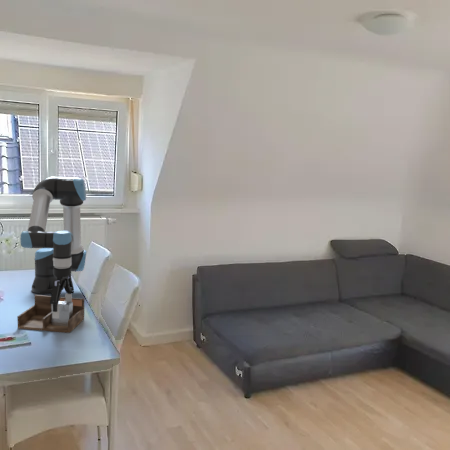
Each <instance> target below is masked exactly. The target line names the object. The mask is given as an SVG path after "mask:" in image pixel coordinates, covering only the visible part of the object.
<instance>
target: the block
mask: <svg viewBox="0 0 450 450" xmlns="http://www.w3.org/2000/svg"><path fill="white" fill-rule="evenodd" d="M58 304H59V319H56V318H52V325H58V326H68V320H69V319H70V318H72V317H73V302H68V301H59V302H58Z"/></svg>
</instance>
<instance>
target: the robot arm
mask: <svg viewBox="0 0 450 450" xmlns="http://www.w3.org/2000/svg"><path fill="white" fill-rule="evenodd" d="M31 196H32V200H33V201H32V203H33V204H32V207H31V212H30V216H29V221H28V226H27V230H23V231H21V233H20V246H21V247H22V248H24V249H37V250H36V251H35V253H34V258H33V259H34V279H33V281H32V285H31V292H32V293H34V294H37V295H47V294H48V295H49V294H50V296H51V299H50V304H52V318H56V319H59V304H58V302H59V299H60V297H61V296H62V291H63V290H64V291H65V295H64V297H65V301H68V302H72V298H73V296H72V295H73V294H74V293H75V289H74V283H73V280H72V272H83V271H84V269H85V266H86V258H87V250H85V249H84V246H83V245H82V241H81V240H82V237H81V233H82V231H81V226H82V225H81V207H82V206H83V204H84V201H86V199H87V190H86V184H85V180H84V178H81V177H75V176H74V177H73V176H72V177H71V176H70V177H68V176H49V177H47V178H44V179H42V180H41V181H40V182H39V183H37V185H35V187H34V189H33V191H32V195H31ZM54 200H57V201H59V204H60V205H61V206H62V208H63V209H62V210H63V213H62V214H63V230H57V231H47V230H46V228H47V223H48V215H49V210H50V205H51V203H52V201H54Z"/></svg>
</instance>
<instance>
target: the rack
mask: <svg viewBox="0 0 450 450" xmlns="http://www.w3.org/2000/svg"><path fill="white" fill-rule="evenodd" d="M50 299H51V295H45V294H34V304H33V305H32V306H30V307H29V308H28V309H26V310H25V311H23V312H21V313H20V314H19V315H17V320H16V321H17V329H18V330H19V329H20V330H33V331H45V332H56V333H66V334H70V333H71V332H72V331H73V330H75V329H76V328H77V327H78V326H79V325H80V324H81V323H82V322H83V321H84V320H85V298H78V297H72V302H73V317H72V318H70V319H69V320H68V326H58V325H52V304H50ZM59 301H65V296H60V299H59Z"/></svg>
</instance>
